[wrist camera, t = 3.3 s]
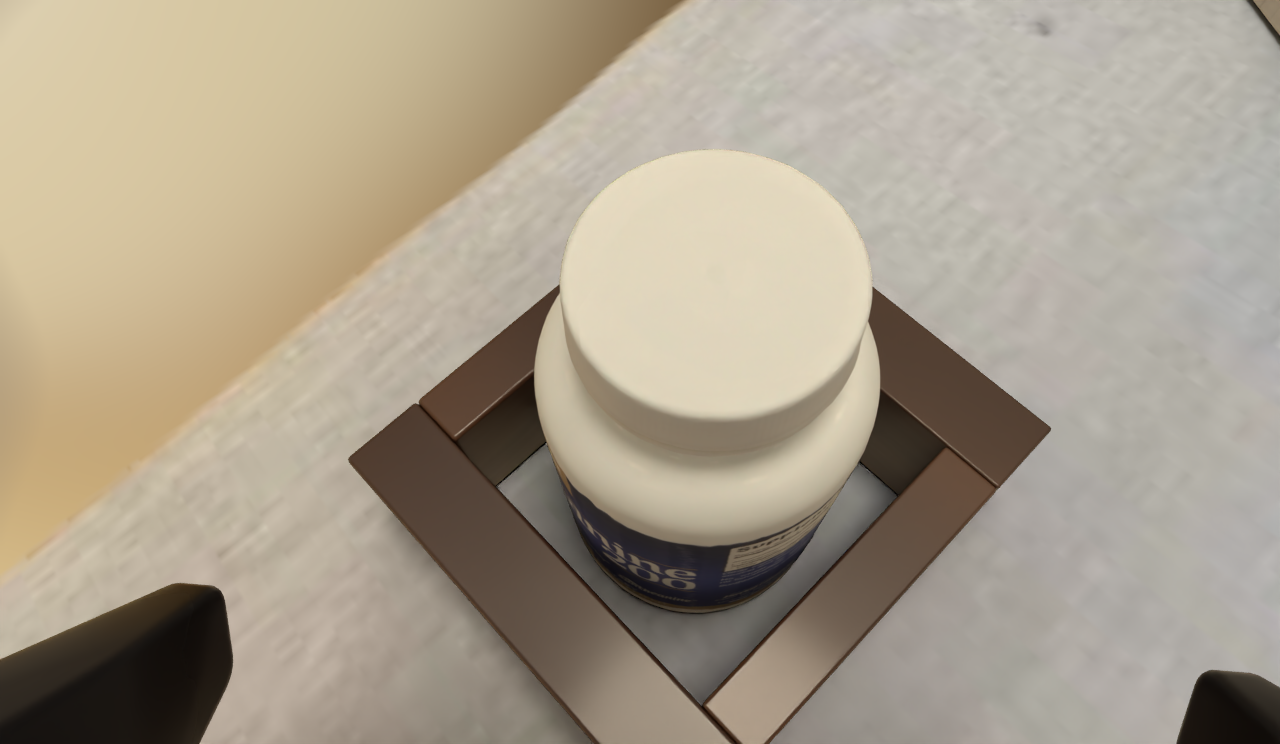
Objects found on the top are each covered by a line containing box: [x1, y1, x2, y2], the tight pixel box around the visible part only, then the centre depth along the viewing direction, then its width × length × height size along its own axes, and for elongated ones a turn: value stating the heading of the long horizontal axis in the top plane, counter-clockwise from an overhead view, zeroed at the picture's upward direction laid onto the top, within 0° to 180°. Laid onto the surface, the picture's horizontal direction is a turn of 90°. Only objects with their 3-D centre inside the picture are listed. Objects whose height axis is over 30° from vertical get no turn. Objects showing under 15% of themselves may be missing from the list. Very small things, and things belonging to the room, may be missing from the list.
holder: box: [348, 284, 1051, 744], centre depth 18 cm, size 10×9×4 cm
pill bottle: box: [534, 149, 880, 613], centre depth 16 cm, size 5×5×10 cm
